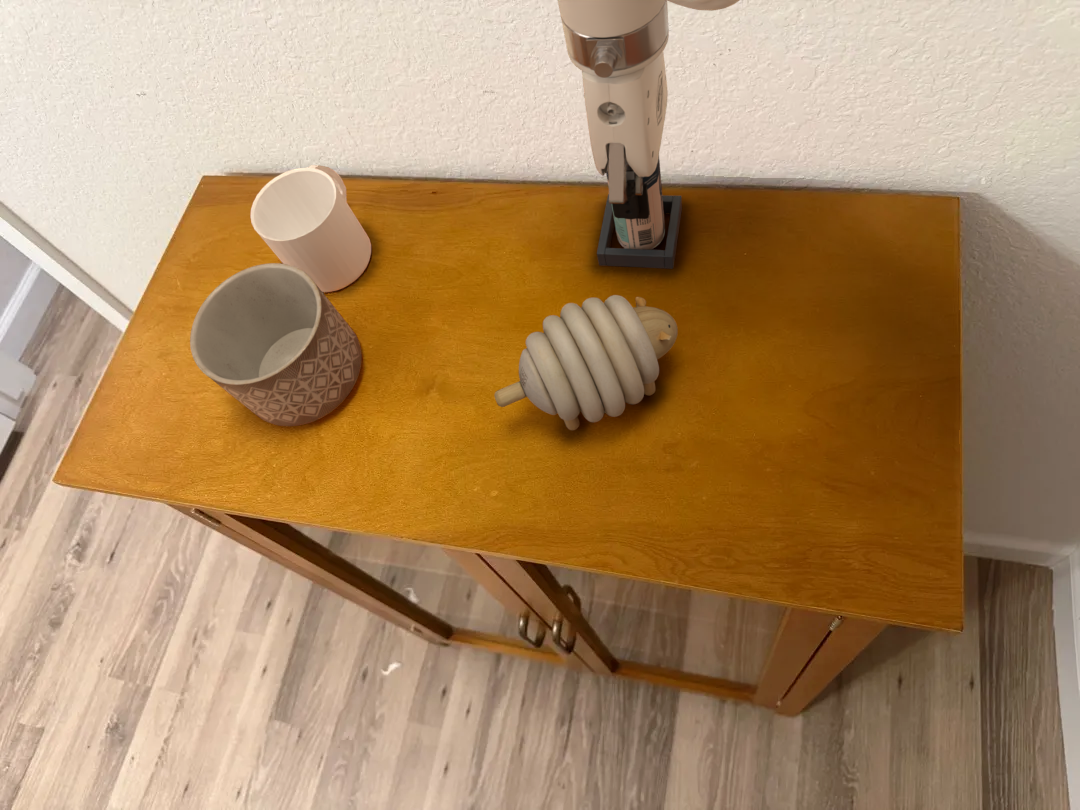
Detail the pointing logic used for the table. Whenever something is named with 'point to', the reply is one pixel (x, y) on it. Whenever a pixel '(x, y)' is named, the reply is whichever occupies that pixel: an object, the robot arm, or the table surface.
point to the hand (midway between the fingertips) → (636, 190)
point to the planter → (276, 344)
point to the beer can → (644, 230)
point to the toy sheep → (593, 359)
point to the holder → (641, 256)
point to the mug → (312, 226)
